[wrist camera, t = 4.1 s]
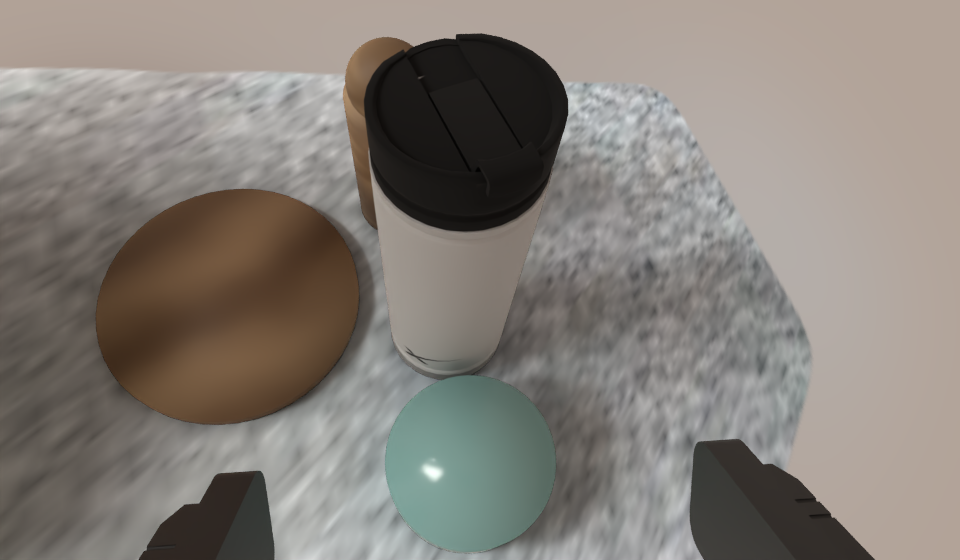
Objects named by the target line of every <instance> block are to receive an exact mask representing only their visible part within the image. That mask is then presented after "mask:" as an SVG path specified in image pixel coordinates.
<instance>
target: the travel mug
mask: <svg viewBox="0 0 960 560" xmlns="http://www.w3.org/2000/svg"><path fill="white" fill-rule="evenodd" d="M364 113H365V122H366V130H367V137H368V145H369V151H368V154H369V166H370V173H371V182H372V189H373V197H374V205H375V212H376V220H377V227H378V235H379V243H380V250H381V258H382V265H383V273H384V281H385V288H386V296H387V303H388V311H389V319H390V326H391V334H392V339H393V342H394V346H395V348H396V350H397V352H398V353H399V355H400V357H401V358H402V359H403V360H404V361H405V363H406V364H407V365H408V366H410V367H411V368H412V369H414V370H415V371H416V372H418V373H420V374H422V375H424V376H427V377H431V378H434V379H441V380H444V379H447V378H451V377H456V376H464V375H471V374H473V373H475V372H476V371H478V370H480V369H481V368H482V367H483V366H484V365H486V364H487V363H488V361H489V360H490V359H491V358H492V356H493V355H494V353H495V351H496V349H497V347H498V345H499V342H500V338H501V335H502V332H503V329H504V326H505V323H506V319H507V316H508V313H509V310H510V307H511V303H512V300H513V297H514V294H515V291H516V288H517V284H518V281H519V278H520V275H521V272H522V269H523V265H524V262H525V259H526V256H527V253H528V249H529V246H530V243H531V240H532V237H533V234H534V230H535V227H536V224H537V221H538V218H539V215H540V211H541V208H542V205H543V202H544V199H545V195H546V191H547V189H548V186H549V183H550V179H551V175H552V171H553V164H554V161H555V158H556V154H557V151H558V148H559V145H560V141H561V138H562V135H563V132H564V129H565V125H566V121H567V117H568V98H567V95H566V91H565V88H564V85H563V83H562V82H561V80H560V78H559V77H558V75H557V73H556V72H555V71H554V70H553V69H552V68H551V66H550V65H549V64H548V63H547V62H546V61H545V60H544V59H542V58H541V57H540V56H538V55H537V54H536V53H534V52H533V51H531V50H529V49H528V48H526V47H524V46H522V45H520V44H518V43H516V42H513V41H510V40H507V39H503V38H501V37H497V36H492V35H487V34H457V35H456V39H445V38H444V39H439V40H435V41H430V42H426V43H423V44H420V45H418V46H415V47H412V48H410V49H409V50H408V51H406V52H405V51H404V49H403V50H401V51H399V52H398V53H396V54H394V55H393V56H391V57H390V58H388V59H386V60H385V61H383V62H382V63H381V64H380V66H379V67H378V68H377V69H376V71H375V72H374V73H373V75H372V77H371V79H370V81H369V83H368V85H367V87H366V92H365V97H364Z"/></svg>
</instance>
